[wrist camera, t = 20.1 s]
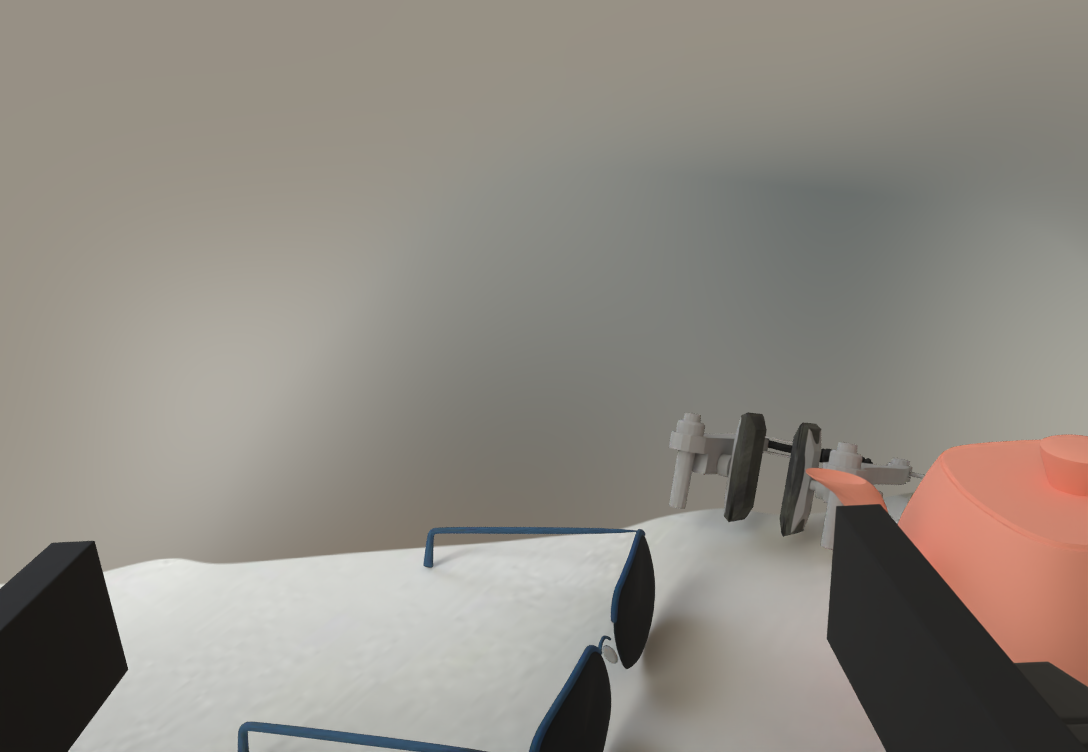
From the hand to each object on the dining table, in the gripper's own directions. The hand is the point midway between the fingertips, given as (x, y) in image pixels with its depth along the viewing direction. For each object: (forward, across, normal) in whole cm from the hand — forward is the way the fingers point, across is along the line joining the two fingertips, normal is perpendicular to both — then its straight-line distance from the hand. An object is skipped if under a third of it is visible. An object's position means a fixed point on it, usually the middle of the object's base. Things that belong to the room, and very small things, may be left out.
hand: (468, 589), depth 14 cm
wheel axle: (+29, +12, -12) cm, 34 cm away
